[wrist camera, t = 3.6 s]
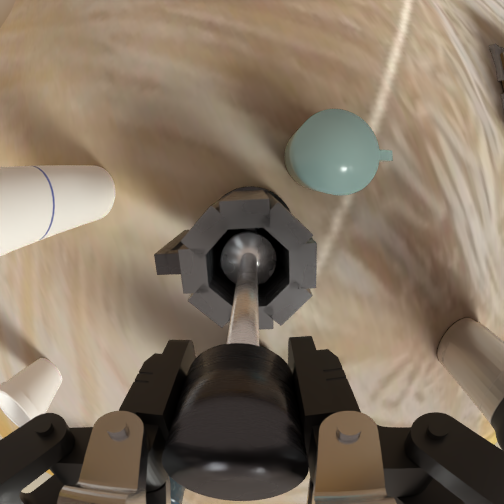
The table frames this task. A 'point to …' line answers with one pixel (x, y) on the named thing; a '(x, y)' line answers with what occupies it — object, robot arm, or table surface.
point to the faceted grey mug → (211, 246)
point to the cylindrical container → (50, 201)
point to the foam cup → (30, 391)
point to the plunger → (239, 400)
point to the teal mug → (334, 153)
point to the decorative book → (499, 64)
